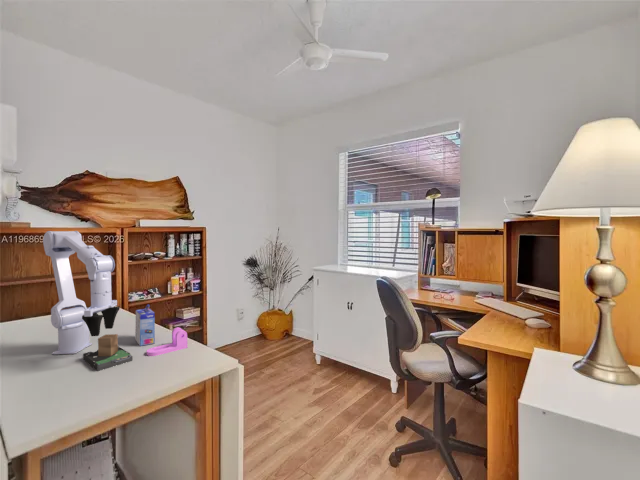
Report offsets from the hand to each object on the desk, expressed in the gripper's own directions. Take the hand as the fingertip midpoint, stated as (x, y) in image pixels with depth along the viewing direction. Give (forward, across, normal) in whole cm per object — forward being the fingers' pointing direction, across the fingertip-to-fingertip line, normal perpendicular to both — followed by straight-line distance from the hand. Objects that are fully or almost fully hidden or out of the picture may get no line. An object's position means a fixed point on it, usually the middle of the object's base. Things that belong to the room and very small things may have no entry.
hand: (102, 332), depth 106 cm
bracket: (+10, +7, -18) cm, 22 cm away
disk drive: (+11, 0, -1) cm, 11 cm away
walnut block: (+8, +1, -1) cm, 8 cm away
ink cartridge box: (+10, +17, -6) cm, 21 cm away
